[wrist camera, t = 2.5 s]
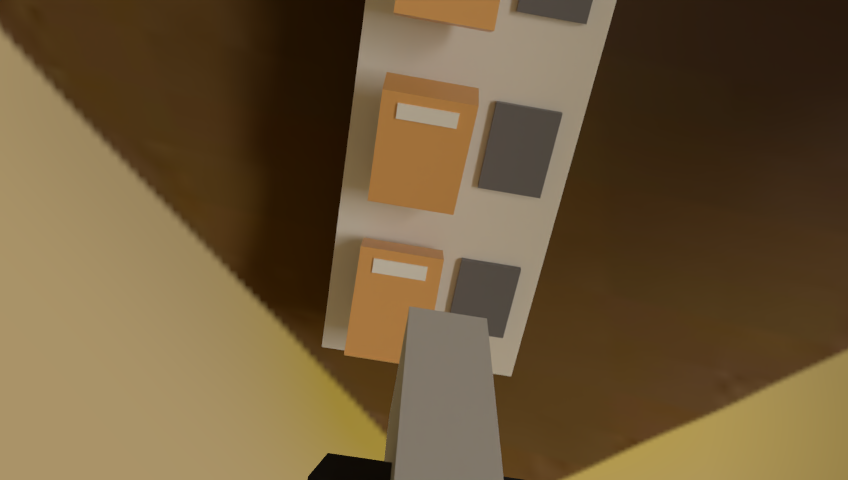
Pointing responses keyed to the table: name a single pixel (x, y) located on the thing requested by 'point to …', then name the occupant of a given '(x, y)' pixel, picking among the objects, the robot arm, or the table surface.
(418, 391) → the robot arm
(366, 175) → the power strip
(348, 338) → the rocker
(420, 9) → the orange block
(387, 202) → the orange block
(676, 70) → the table surface
